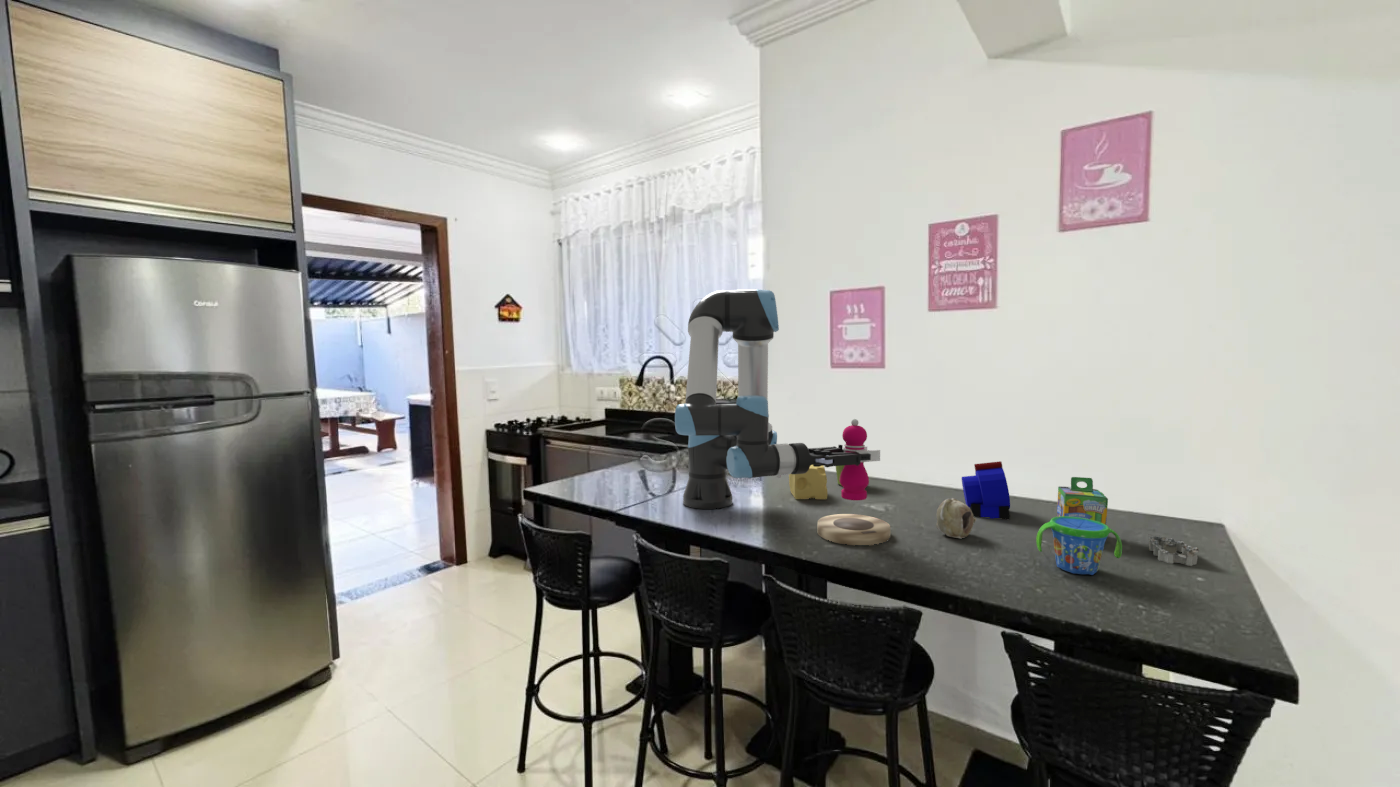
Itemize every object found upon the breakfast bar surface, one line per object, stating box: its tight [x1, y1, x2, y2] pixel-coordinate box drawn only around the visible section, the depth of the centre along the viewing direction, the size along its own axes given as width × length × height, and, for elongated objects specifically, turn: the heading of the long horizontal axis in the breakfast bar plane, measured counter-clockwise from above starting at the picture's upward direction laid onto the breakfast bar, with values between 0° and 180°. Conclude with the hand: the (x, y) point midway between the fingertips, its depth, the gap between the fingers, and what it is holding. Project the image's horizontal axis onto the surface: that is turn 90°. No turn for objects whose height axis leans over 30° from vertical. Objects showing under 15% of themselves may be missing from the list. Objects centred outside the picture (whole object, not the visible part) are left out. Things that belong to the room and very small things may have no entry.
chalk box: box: [1056, 476, 1109, 525], centre depth 146 cm, size 9×9×15 cm
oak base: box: [816, 513, 891, 546], centre depth 150 cm, size 18×18×3 cm
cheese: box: [788, 465, 828, 500], centre depth 188 cm, size 10×11×10 cm
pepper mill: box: [839, 418, 870, 501], centre depth 148 cm, size 7×7×20 cm
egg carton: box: [1147, 533, 1200, 567], centre depth 132 cm, size 11×8×4 cm
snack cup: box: [1035, 516, 1123, 576], centre depth 125 cm, size 16×10×10 cm
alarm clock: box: [961, 461, 1011, 520], centre depth 168 cm, size 12×12×15 cm
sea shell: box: [935, 497, 977, 540], centre depth 148 cm, size 9×8×10 cm
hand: (872, 453), depth 150 cm, fingers closed on pepper mill, 5 cm apart
